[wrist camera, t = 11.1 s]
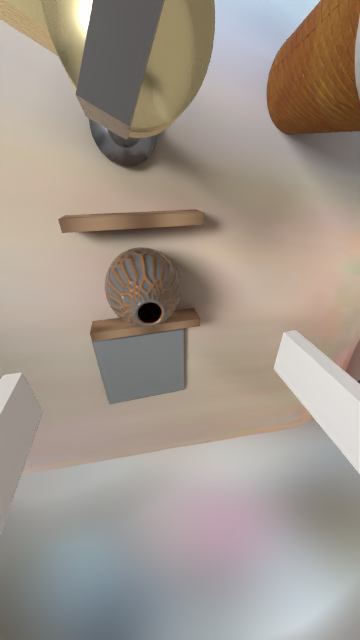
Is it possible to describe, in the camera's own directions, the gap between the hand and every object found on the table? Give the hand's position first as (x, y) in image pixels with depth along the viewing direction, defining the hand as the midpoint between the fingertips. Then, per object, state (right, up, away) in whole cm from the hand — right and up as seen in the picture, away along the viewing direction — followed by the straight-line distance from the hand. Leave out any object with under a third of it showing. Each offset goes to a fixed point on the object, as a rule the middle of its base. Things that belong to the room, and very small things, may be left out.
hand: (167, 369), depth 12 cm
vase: (-4, +8, +12) cm, 15 cm away
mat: (-4, -4, +19) cm, 20 cm away
